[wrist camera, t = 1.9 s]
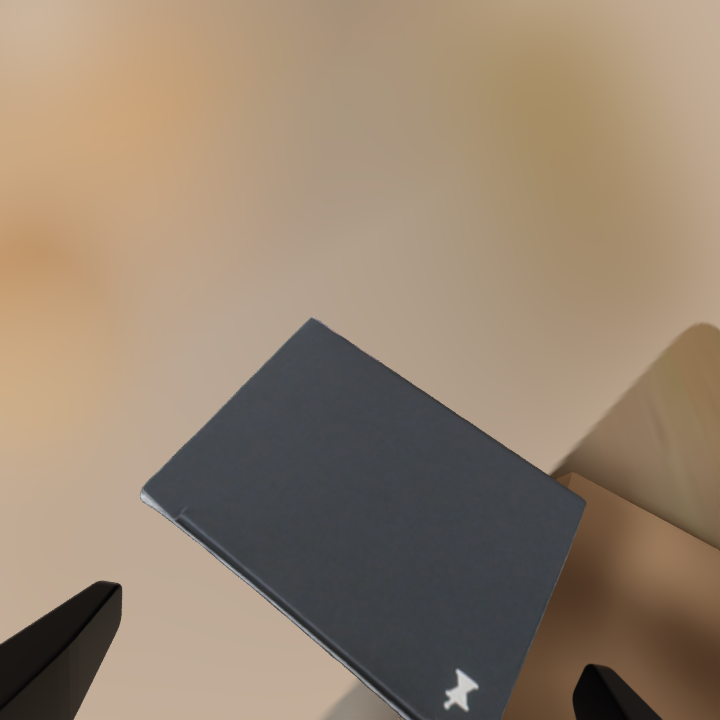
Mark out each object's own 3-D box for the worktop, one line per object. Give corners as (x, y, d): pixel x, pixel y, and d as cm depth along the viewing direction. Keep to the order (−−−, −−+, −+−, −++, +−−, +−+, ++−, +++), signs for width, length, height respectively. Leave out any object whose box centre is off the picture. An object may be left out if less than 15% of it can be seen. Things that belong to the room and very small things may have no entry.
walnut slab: (740, 905, 14) (819, 964, 12) (465, 728, 16) (492, 751, 13) (756, 600, 19) (816, 602, 17) (543, 484, 20) (572, 471, 18)
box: (451, 544, 18) (601, 502, 9) (377, 678, 16) (479, 804, 7) (307, 436, 20) (311, 305, 11) (219, 542, 18) (124, 493, 8)
